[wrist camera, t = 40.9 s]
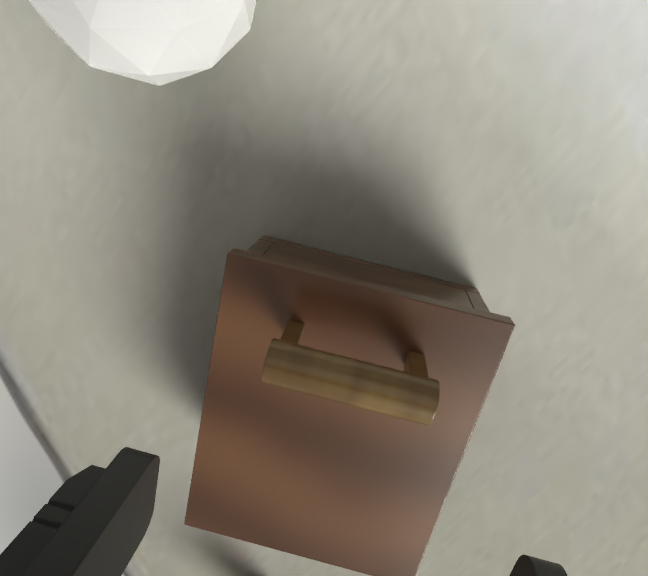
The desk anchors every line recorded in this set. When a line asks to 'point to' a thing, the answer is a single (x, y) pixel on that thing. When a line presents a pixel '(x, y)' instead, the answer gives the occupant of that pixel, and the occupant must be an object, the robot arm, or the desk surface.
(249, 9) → the perfume bottle
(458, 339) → the box lid
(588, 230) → the desk surface
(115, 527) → the robot arm
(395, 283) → the storage box
